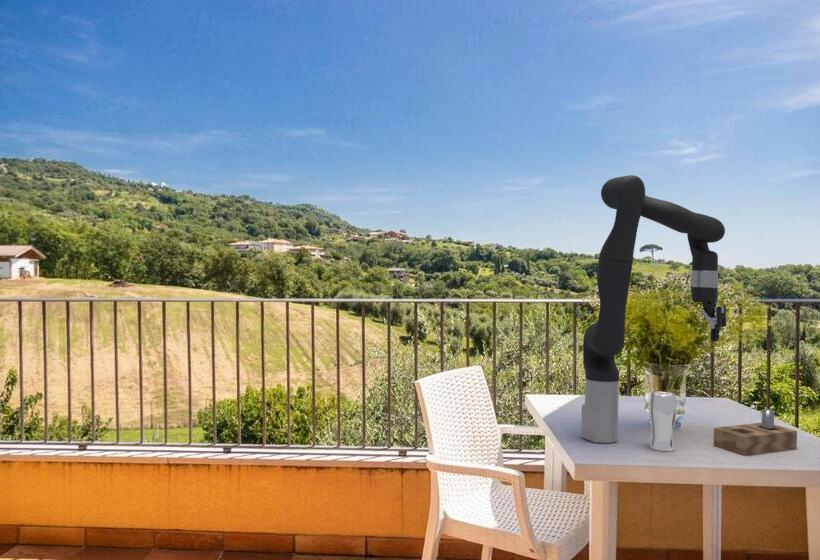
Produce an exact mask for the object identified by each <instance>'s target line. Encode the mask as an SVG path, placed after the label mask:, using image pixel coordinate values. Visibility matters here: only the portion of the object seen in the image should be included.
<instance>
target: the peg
mask: <svg viewBox="0 0 820 560" xmlns="http://www.w3.org/2000/svg"><path fill="white" fill-rule="evenodd" d="M761 423H762V427H761V428H762V429H766V430H774V425H775V410H774V409H769V408H762V409H761Z"/></svg>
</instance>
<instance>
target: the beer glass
mask: <svg viewBox="0 0 820 560" xmlns="http://www.w3.org/2000/svg"><path fill="white" fill-rule="evenodd" d="M677 407H678V406H677V394H675V393H673V392H668V391H657V390H656V391H655V390H654V391H651V392H650V394H649V405H648V414H649V423H650V429H651V437H650V443H649V448H650V449H652V450H655V451H658V452H672V451H674V449H675V447H674V441H673V434H674V429H675V424H676V420H677V418H676V417H677V411H678V409H677Z"/></svg>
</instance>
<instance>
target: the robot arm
mask: <svg viewBox="0 0 820 560" xmlns="http://www.w3.org/2000/svg"><path fill="white" fill-rule="evenodd" d="M645 186H646V185H645V184H644V182H643V180H642V178H641V177H639V176H638V175H633V174H632V175H623V176H618V177H613V178H610V179H608V180H607V181H606V182H605V183H604V184H603V185H602V187H601V189H600V190H601V191H600V196H601V200H602V202H603V204H605V206H607V207H608V208H610V209H613V210H616V213H615V219H614V223H613V226H612V229H611V230H610V233H609V234H608V235H607V238H606V240H605V242H603V245H602V247H601V249H600V252H599V256H598V263H597V270H596V283H597V291H598V296H599V313H598V318H597V322H593V323H592V324H589V326H588V327H587V328H586V330H585V332H584V334H583V341H582V342H583V344H582V346H583V348H582V350H583V351H582V353H583V354H582V355H583V359H582V360H583V361H582V362H583V368H584V372H585V374H584V375H585V378H584V379H585V382H584V384H585V387H584V404H582V405H581V424H580V425H581V427H580V428H581V429H580V438H582V439H585V440H587V441H589V442H592V443H600V444H611V443H616V442H617V441H618V433H619V432H618V428H619V401H620V400H619V398H620V397H619V393H620V371H619V369H618V367H617V365H616V364H617V363H616V360H615V358H616V356H617V355H618V354H619V353H621V351H622V349H623V347H624V345H625V337H626V335H625V334H626V333H625V332H626V312H627V311H626V309H627V303H628V297H629V296H628V295H629V289H630V282H631V276H632V269H633V262H634V254H635V253H634V252H635V246H636V241H637V240H636V239H637V235H638V234H637V233H638V228H639V223H640V219H641V217H642V218H645V219H648V220H650V221H652V222H655V223H658V224H660V225H662V226H664V227H667V228H669V229H671V230H673V231H674V232H675V231H676V232H677V233H681V234H687V236H686V237H687V240H688V247H689V251H690V254H691V256H692V257H691V259H692V260H691V274H690V288H691V293H692V295H691V296H692V300H693V301H694V302H702V304H703V307H704V308H701V311H702V314H703V315H704V317H705V319H706V320H705V321H706V322H707V323H709V325H710V327H711V328H710V341H711V342H719V340H720V329H722V328H726V326H727V307H726V306H717V302H718V300H719V299H718V297H719V273H718V270H719V269H718V268H719V267H718V265H719V256H718V253H717V252H716V251H714V250H710V248H709V244H710V243H711V244H712V243H713V244H714V243H717V242H719V241H721V240H722V239H723V238H724V236H725V235H726V234H725V233H726V228H725V225H724V224H723V222H722V221H720V220H719V219H717V218H715V217H713V216H709V215H708V214H707V215H706V214H703V213H700V212H694V211H692V210H690V209H688V208H686V207H685V206H683V205H682V206H681V205H679V204H677V203H674V202H671V201H667V200H663V199H659V198H654V197H651V196H649V195H648V196H647V195H646V187H645ZM712 317H714V318H712Z"/></svg>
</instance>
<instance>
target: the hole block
mask: <svg viewBox="0 0 820 560" xmlns="http://www.w3.org/2000/svg"><path fill="white" fill-rule="evenodd" d="M761 427H762V422H755V423H754V422H753V423H746V424H738V425H728V426H719V427H714V428H713V447H716V448H719V449H722V450H725V451H729V452H731V453H734V454H739V455H741V456H744V455H745V456H744V457H747V456H746V455H748V456H754V455H753V454H755V455H760V454H759V453H763V454H767V453H766V452H770V453H774V452H773V451H777V452H780V451H779V450H784V451H787V450H786V449H791V450H796V449H795V448H797V445H798V444H797V442H798V441H797V440H798V430H795V429H792V428H787V427H784V426H780V425H776V424H774V430H766V429H762V428H761ZM797 449H798V448H797Z"/></svg>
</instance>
